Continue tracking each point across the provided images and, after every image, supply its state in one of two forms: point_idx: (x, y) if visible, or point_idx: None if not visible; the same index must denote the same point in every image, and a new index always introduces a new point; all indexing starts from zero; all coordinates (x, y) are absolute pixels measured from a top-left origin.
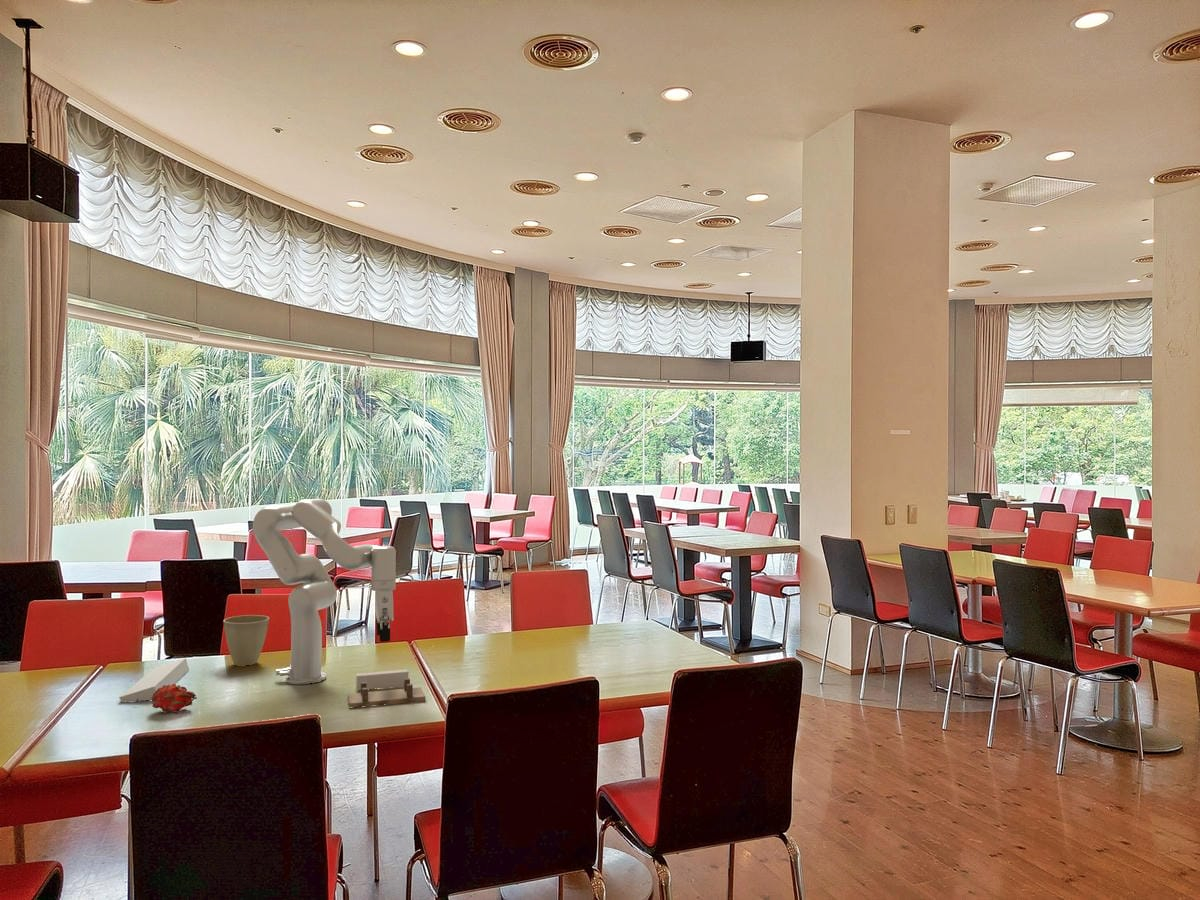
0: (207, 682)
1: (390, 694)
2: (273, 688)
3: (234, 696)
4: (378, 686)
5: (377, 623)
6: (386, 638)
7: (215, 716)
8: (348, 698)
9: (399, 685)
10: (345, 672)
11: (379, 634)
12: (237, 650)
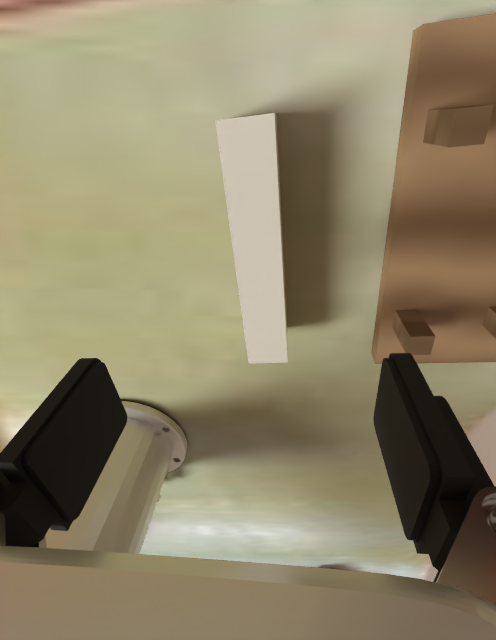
0: (148, 549)
1: (473, 215)
2: (207, 484)
3: (253, 527)
4: (283, 260)
5: (68, 526)
6: (440, 404)
7: (382, 545)
8: (420, 360)
9: (278, 163)
10: (52, 353)
11: (121, 411)
12: None
